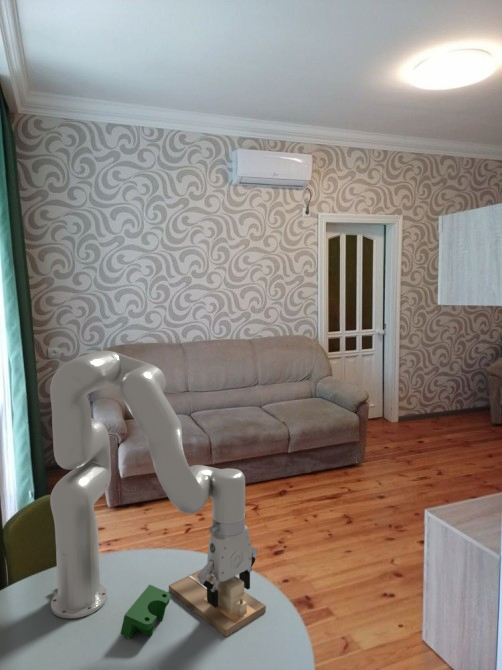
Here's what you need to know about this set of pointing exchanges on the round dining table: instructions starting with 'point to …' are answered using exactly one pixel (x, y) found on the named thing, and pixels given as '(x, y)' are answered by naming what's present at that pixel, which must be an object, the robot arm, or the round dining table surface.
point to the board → (220, 619)
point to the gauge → (232, 596)
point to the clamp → (145, 612)
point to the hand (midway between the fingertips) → (229, 595)
